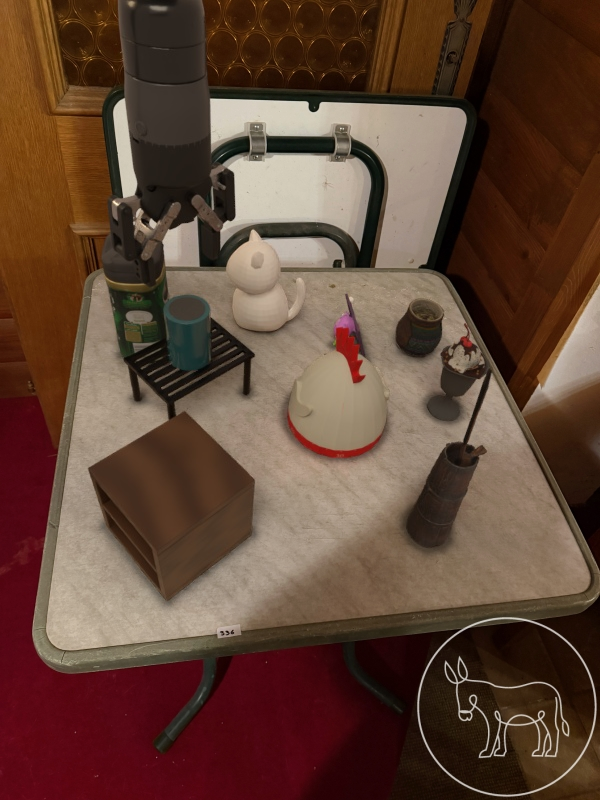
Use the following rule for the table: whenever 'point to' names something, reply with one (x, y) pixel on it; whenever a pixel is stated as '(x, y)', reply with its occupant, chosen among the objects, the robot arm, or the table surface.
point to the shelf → (175, 502)
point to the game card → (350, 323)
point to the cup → (188, 332)
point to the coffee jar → (135, 300)
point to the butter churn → (446, 485)
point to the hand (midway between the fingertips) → (179, 269)
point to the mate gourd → (420, 327)
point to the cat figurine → (260, 287)
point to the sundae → (457, 376)
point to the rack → (164, 393)
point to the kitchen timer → (339, 402)
